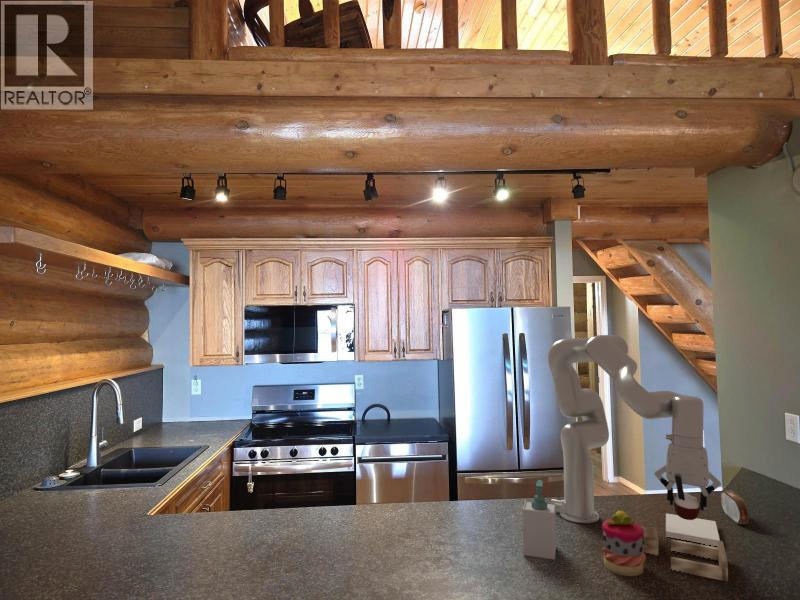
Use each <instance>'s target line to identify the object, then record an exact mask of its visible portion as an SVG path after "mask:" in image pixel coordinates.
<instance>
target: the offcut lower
mask: <svg viewBox="0 0 800 600" xmlns="http://www.w3.org/2000/svg"><path fill="white" fill-rule="evenodd" d="M643 551H644V552H645V554H647V553H651V554H650V555H652V554H655V555H654V556H657V555H658V556H659V546H658V547H653V546H647V545H643Z"/></svg>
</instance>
